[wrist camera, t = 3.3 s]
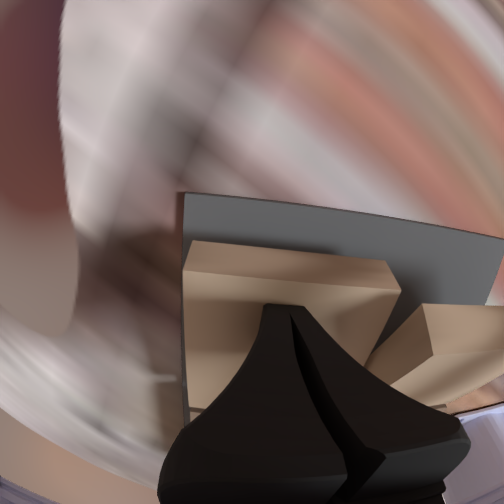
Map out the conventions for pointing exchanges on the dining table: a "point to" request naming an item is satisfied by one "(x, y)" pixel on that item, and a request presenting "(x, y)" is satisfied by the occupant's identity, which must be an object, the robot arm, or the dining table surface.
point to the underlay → (351, 249)
